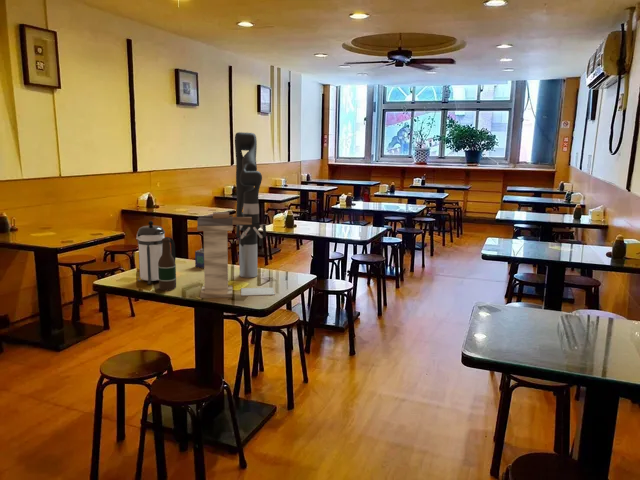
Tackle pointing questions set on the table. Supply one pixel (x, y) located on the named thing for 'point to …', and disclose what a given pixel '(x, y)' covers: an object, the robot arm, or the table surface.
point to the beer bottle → (166, 267)
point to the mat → (256, 291)
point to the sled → (235, 219)
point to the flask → (199, 258)
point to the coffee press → (151, 251)
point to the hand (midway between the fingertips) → (251, 246)
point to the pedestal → (215, 256)
